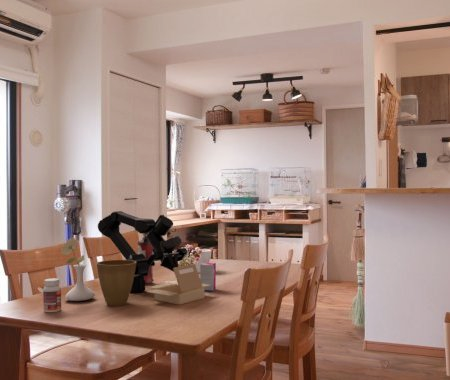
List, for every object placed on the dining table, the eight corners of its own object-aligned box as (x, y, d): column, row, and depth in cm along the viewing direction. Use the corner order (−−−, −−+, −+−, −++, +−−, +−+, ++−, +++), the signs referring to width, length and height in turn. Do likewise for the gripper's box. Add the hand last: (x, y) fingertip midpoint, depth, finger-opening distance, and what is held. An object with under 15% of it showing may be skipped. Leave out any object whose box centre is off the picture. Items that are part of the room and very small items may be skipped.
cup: (190, 269, 273) (190, 248, 273) (213, 269, 272) (213, 249, 272) (185, 273, 261) (185, 251, 261) (209, 273, 259) (209, 252, 259)
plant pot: (125, 309, 187) (124, 265, 187) (89, 307, 191) (88, 264, 191) (143, 300, 201) (143, 259, 201) (109, 298, 205) (109, 258, 205)
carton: (136, 300, 201) (135, 289, 201) (178, 290, 220) (178, 280, 220) (171, 307, 189) (170, 295, 189) (212, 295, 208) (212, 285, 208)
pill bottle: (60, 312, 184) (60, 280, 184) (42, 313, 183) (42, 281, 183) (62, 308, 190) (61, 277, 190) (44, 309, 189) (44, 278, 189)
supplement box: (213, 291, 216) (212, 264, 216) (199, 291, 217) (199, 264, 217) (216, 288, 222) (215, 262, 222) (202, 288, 223) (202, 262, 223)
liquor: (135, 283, 237) (134, 222, 236) (149, 281, 241) (148, 221, 241) (142, 285, 231) (141, 223, 231) (157, 283, 235) (156, 222, 235)
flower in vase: (86, 295, 211) (85, 235, 211) (100, 299, 203) (99, 236, 203) (56, 300, 202) (55, 237, 202) (70, 305, 194) (69, 239, 194)
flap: (180, 291, 194) (172, 268, 197) (201, 286, 204) (193, 264, 206) (181, 291, 194) (173, 267, 196) (202, 286, 203) (194, 263, 206)
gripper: (151, 231, 199) (172, 262, 192) (184, 228, 213) (204, 256, 207) (137, 251, 204) (157, 281, 197) (170, 246, 218) (190, 274, 212)
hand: (178, 272), depth 203 cm, fingers closed
